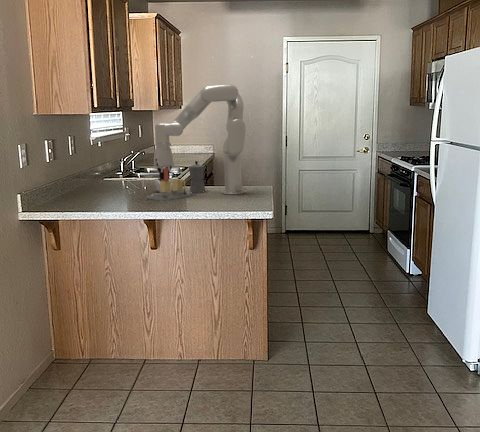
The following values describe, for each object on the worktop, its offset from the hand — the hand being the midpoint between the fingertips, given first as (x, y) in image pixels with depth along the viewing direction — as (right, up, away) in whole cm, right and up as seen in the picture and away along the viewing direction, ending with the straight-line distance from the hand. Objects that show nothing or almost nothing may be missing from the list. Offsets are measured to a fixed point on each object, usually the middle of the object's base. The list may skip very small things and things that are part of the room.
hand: (164, 178), depth 304 cm
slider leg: (+2, -9, 0) cm, 9 cm away
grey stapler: (-3, -7, +18) cm, 20 cm away
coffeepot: (+17, -6, +19) cm, 26 cm away
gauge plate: (+4, -10, +2) cm, 11 cm away
